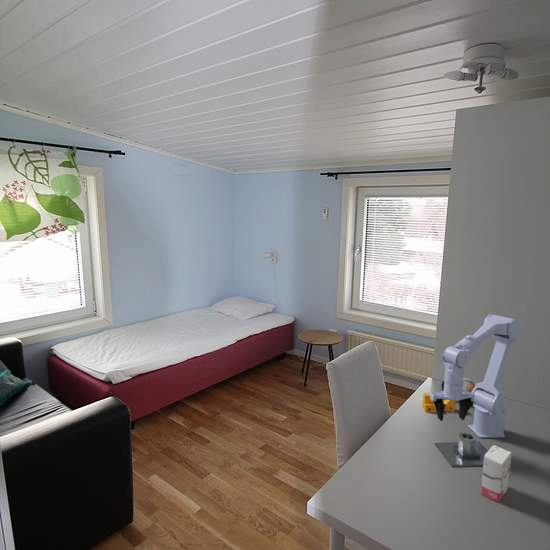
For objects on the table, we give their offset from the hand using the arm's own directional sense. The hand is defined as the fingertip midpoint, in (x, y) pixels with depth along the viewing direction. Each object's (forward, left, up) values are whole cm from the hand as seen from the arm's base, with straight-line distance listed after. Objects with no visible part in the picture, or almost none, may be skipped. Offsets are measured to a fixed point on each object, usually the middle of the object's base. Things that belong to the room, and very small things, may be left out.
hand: (450, 419), depth 128 cm
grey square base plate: (-3, +5, -10) cm, 12 cm away
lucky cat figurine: (-22, -34, -10) cm, 42 cm away
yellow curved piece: (-8, -24, -10) cm, 27 cm away
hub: (-3, +5, -8) cm, 10 cm away
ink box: (-2, +22, -10) cm, 25 cm away
